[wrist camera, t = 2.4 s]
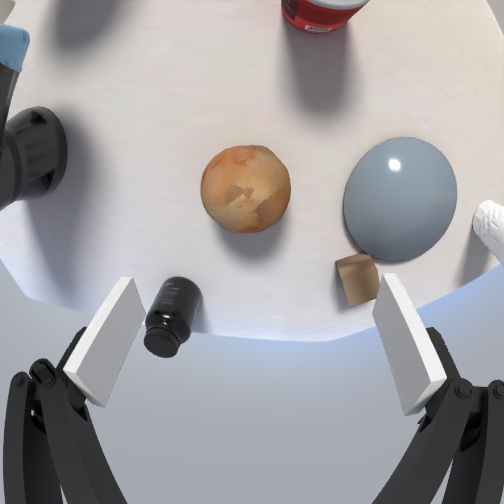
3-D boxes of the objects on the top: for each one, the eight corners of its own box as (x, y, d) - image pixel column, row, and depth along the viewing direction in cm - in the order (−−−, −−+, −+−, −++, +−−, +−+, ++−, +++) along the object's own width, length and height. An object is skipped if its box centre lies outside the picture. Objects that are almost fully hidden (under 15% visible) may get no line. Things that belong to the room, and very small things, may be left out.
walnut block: (342, 286, 41) (349, 307, 37) (335, 260, 39) (342, 281, 35) (372, 276, 40) (381, 296, 36) (366, 250, 38) (377, 269, 33)
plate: (337, 258, 39) (338, 263, 38) (345, 130, 29) (348, 131, 28) (438, 255, 37) (442, 259, 36) (459, 145, 28) (464, 147, 27)
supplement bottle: (209, 302, 44) (194, 360, 34) (175, 310, 46) (154, 365, 36) (189, 269, 41) (166, 326, 31) (154, 280, 43) (126, 333, 33)
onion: (204, 204, 36) (182, 240, 27) (218, 130, 31) (198, 142, 22) (275, 221, 36) (276, 263, 28) (297, 150, 31) (308, 169, 23)
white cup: (462, 222, 34) (498, 255, 25) (488, 186, 30) (527, 212, 22) (480, 246, 36) (511, 279, 27) (504, 214, 32) (538, 242, 23)
